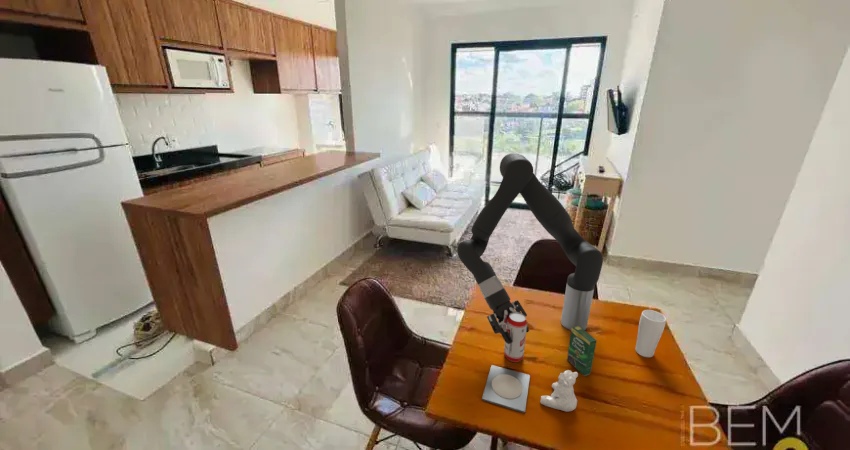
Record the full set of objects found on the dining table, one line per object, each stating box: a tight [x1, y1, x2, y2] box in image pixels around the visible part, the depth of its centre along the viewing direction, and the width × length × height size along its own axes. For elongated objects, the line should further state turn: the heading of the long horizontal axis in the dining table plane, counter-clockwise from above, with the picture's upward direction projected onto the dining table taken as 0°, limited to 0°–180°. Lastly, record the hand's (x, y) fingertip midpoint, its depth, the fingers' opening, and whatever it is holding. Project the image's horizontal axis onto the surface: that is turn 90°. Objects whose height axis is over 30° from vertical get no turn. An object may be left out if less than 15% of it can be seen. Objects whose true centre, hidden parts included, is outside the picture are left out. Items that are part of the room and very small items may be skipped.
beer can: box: [503, 312, 528, 363], centre depth 110 cm, size 6×6×16 cm
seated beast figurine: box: [539, 369, 579, 412], centre depth 93 cm, size 10×9×12 cm
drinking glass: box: [634, 309, 667, 358], centre depth 111 cm, size 7×7×15 cm
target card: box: [481, 364, 531, 414], centre depth 100 cm, size 14×12×1 cm
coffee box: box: [566, 326, 597, 377], centre depth 106 cm, size 8×3×13 cm, turn 19°
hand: (518, 337), depth 108 cm, fingers open, 8 cm apart
